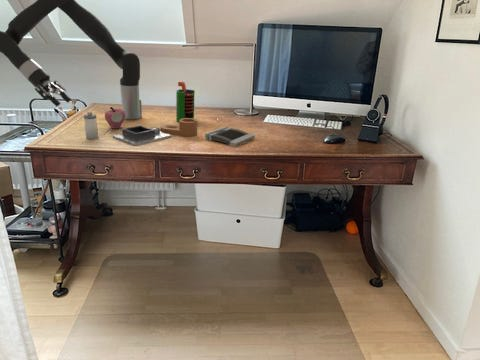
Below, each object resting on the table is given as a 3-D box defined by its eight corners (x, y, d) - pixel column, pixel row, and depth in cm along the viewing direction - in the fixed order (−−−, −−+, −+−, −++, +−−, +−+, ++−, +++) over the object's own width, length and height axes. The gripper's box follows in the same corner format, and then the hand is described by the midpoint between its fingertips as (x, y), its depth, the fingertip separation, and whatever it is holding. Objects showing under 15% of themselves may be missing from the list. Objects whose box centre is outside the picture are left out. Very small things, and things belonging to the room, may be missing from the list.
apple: (106, 130, 181) (105, 109, 178) (104, 126, 189) (102, 105, 185) (127, 129, 185) (126, 108, 182) (124, 124, 193) (123, 104, 189)
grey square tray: (226, 126, 189) (255, 129, 181) (226, 135, 190) (255, 139, 182) (205, 133, 175) (235, 137, 167) (205, 143, 177) (235, 147, 169)
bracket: (199, 133, 185) (199, 119, 183) (193, 138, 178) (193, 123, 175) (165, 129, 190) (164, 115, 187) (157, 133, 182) (156, 118, 180)
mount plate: (149, 129, 186) (149, 121, 185) (171, 137, 177) (171, 128, 175) (112, 137, 172) (112, 128, 171) (134, 145, 163) (133, 136, 161)
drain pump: (94, 135, 173) (91, 110, 169) (100, 138, 170) (98, 112, 166) (83, 137, 170) (81, 111, 165) (89, 140, 167) (87, 113, 163)
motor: (190, 123, 201) (190, 84, 193) (173, 122, 202) (172, 83, 194) (196, 119, 210) (196, 81, 202) (180, 117, 211) (179, 80, 204)
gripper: (29, 69, 154) (60, 100, 158) (49, 65, 167) (77, 94, 171) (18, 82, 157) (50, 112, 160) (39, 77, 170) (67, 105, 173)
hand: (64, 103), depth 165 cm, fingers open, 8 cm apart
